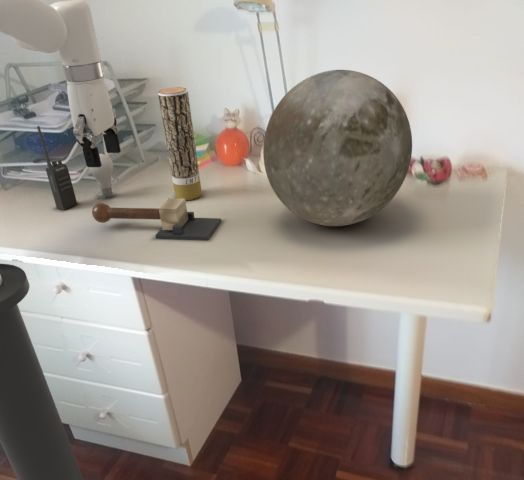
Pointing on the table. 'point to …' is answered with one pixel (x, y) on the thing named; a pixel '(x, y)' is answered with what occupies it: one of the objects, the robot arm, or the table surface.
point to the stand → (191, 229)
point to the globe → (337, 148)
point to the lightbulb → (103, 174)
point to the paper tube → (180, 142)
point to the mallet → (146, 213)
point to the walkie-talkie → (59, 180)
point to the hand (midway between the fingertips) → (104, 159)
